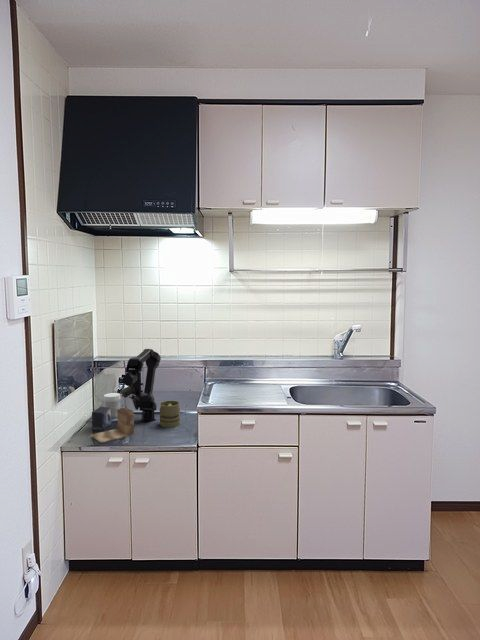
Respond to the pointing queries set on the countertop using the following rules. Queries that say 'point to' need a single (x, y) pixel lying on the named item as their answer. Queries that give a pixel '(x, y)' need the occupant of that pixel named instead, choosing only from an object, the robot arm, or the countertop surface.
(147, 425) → the countertop surface
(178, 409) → the piston
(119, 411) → the brown rectangular block
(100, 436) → the cutting board
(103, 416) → the small box
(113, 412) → the supplement tub
